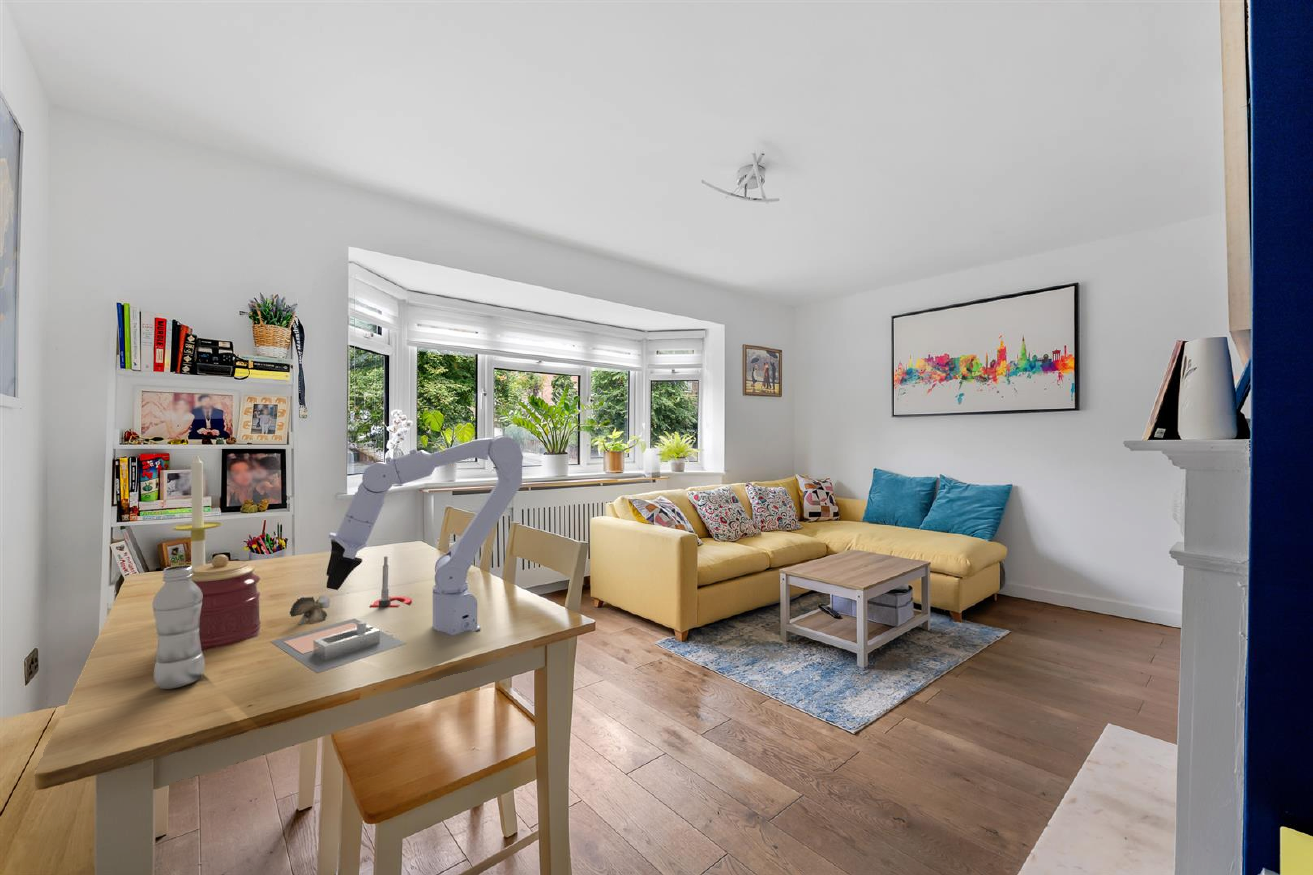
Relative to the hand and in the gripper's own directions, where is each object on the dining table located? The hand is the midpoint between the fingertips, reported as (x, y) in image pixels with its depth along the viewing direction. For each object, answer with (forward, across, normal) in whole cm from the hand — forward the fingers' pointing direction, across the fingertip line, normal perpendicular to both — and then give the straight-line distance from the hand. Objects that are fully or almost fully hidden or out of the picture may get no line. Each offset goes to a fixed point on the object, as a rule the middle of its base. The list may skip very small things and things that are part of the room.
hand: (331, 582), depth 108 cm
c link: (+9, +7, +6) cm, 13 cm away
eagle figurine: (+15, -14, +1) cm, 20 cm away
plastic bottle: (+20, +7, -16) cm, 26 cm away
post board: (+11, +3, +6) cm, 13 cm away
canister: (+20, -12, -13) cm, 27 cm away
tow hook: (+8, -19, +17) cm, 27 cm away
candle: (+24, -35, -19) cm, 47 cm away
